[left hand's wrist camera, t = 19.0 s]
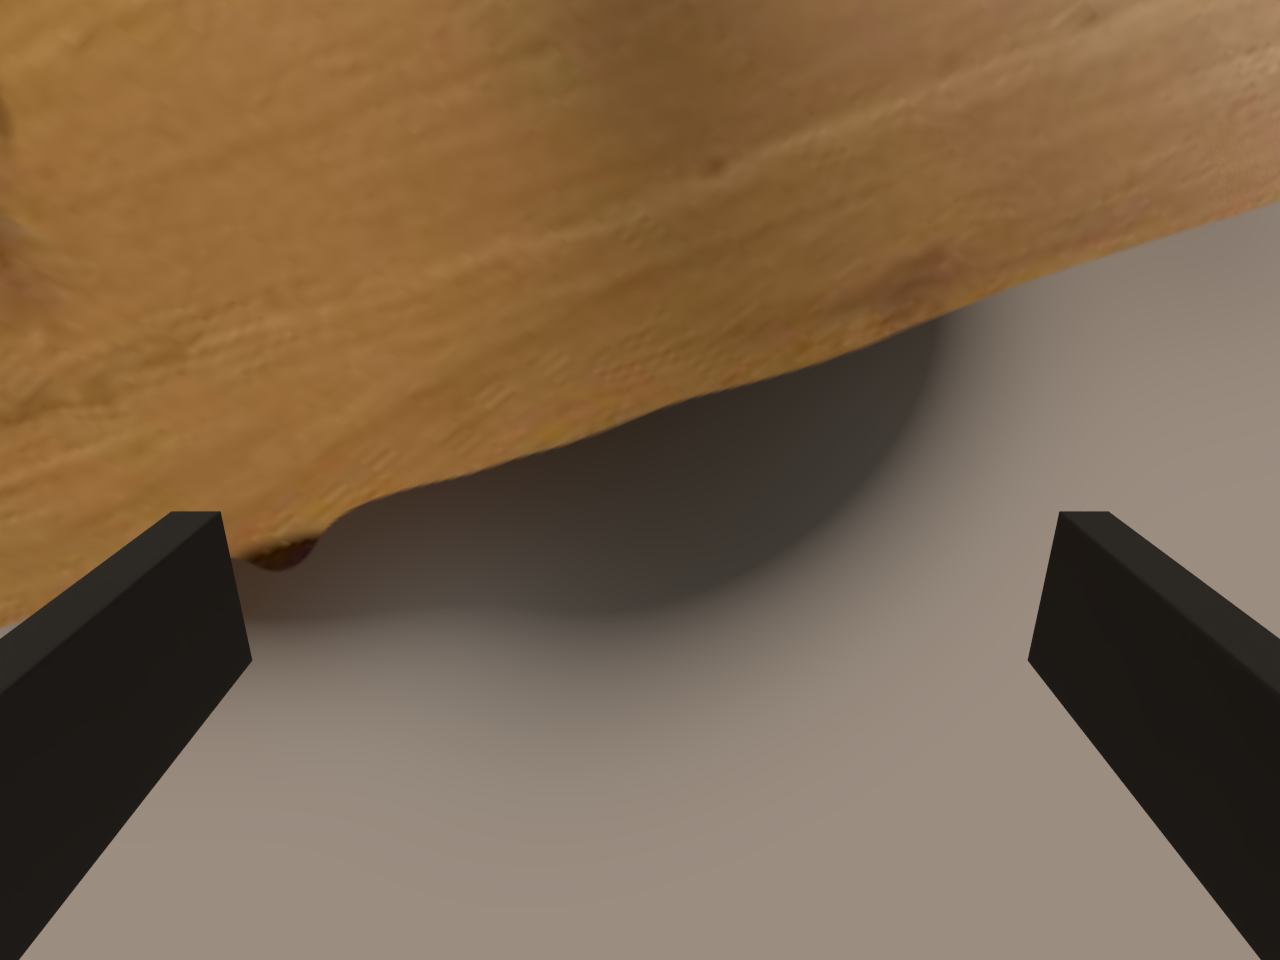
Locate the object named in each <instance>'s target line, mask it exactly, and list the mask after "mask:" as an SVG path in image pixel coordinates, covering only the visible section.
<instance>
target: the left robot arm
mask: <svg viewBox="0 0 1280 960" xmlns="http://www.w3.org/2000/svg"><path fill="white" fill-rule="evenodd" d="M251 661H252V657H251V652H250V648H249V643H248V638H247V634H246V629H245V624H244V619H243V615H242V610H241V605H240V601H239V596H238V591H237V586H236V582H235V577H234V573H233V568H232V563H231V558H230V554H229V549H228V544H227V540H226V535H225V530H224V526H223V521H222V516H221V512H170V513H169V514H168V515H166V516H165V517H164V518H162V519H161V520H159V521H158V522H157V523H155V524H154V525H153V526H151V527H150V528H149V529H147V530H146V531H145V532H143V533H142V534H141V535H139V536H138V537H137V538H135V539H134V540H133V541H131V542H130V543H129V544H127V545H126V546H125V547H123V548H122V549H120V550H119V551H118V552H116V553H115V554H114V555H112V556H111V557H110V558H108V559H107V560H106V561H104V562H103V563H102V564H100V565H99V566H98V567H96V568H95V569H94V570H92V571H91V572H90V573H88V574H87V575H86V576H84V577H83V578H82V579H80V580H79V581H77V582H76V583H75V584H73V585H72V586H71V587H69V588H68V589H67V590H65V591H64V592H63V593H61V594H60V595H59V596H57V597H56V598H55V599H53V600H52V601H51V602H49V603H48V604H47V605H45V606H44V607H43V608H41V609H40V610H39V611H37V612H36V613H34V614H33V615H32V616H30V617H29V618H28V619H26V620H25V621H24V622H22V623H21V624H20V625H18V626H17V627H16V628H14V629H13V630H12V631H10V632H9V633H8V634H6V635H5V636H4V637H2V638H1V639H0V960H19V959H20V958H21V957H22V955H23V954H24V953H25V951H26V950H27V949H28V948H29V946H30V945H31V944H32V942H33V941H34V940H35V939H36V937H37V936H38V935H39V933H40V932H41V931H42V930H43V928H44V927H45V926H46V924H47V923H48V922H49V921H50V919H51V918H52V917H53V915H54V914H55V913H56V912H57V910H58V909H59V908H60V907H61V905H62V904H63V903H64V901H65V900H66V899H67V898H68V896H69V895H70V894H71V892H72V891H73V890H74V889H75V887H76V886H77V885H78V883H79V882H80V881H81V880H82V878H83V877H84V876H85V874H86V873H87V872H88V871H89V869H90V868H91V867H92V865H93V864H94V863H95V862H96V860H97V859H98V858H99V856H100V855H101V854H102V853H103V851H104V850H105V849H106V847H107V846H108V845H109V844H110V842H111V841H112V840H113V839H114V837H115V836H116V835H117V833H118V832H119V831H120V830H121V828H122V827H123V826H124V824H125V823H126V822H127V820H128V819H129V818H130V817H131V815H132V814H133V813H134V812H135V810H136V809H137V808H138V806H139V805H140V804H141V803H142V801H143V800H144V799H145V797H146V796H147V795H148V794H149V792H150V791H151V790H152V788H153V787H154V786H155V785H156V783H157V782H158V781H159V779H160V778H161V777H162V776H163V774H164V773H165V772H166V771H167V769H168V768H169V767H170V765H171V764H172V763H173V762H174V760H175V759H176V758H177V756H178V755H179V754H180V753H181V751H182V750H183V749H184V747H185V746H186V745H187V744H188V742H189V741H190V740H191V738H192V737H193V736H194V735H195V733H196V732H197V731H198V729H199V728H200V727H201V726H202V724H203V723H204V722H205V720H206V719H207V718H208V717H209V715H210V714H211V713H212V711H213V710H214V709H215V708H216V706H217V705H218V704H219V702H220V701H221V700H222V699H223V697H224V696H225V695H226V694H227V692H228V691H229V690H230V688H231V687H232V686H233V684H234V683H235V682H236V681H237V679H238V678H239V677H240V675H241V674H242V673H243V672H244V670H245V669H246V668H247V667H248V665H249V664H250V663H251ZM1028 661H1029V663H1030V664H1031V665H1032V667H1033V668H1034V669H1035V670H1036V672H1037V673H1038V674H1039V676H1040V677H1041V678H1042V679H1043V681H1044V682H1045V683H1046V685H1047V686H1048V687H1049V688H1050V690H1051V691H1052V692H1053V693H1054V695H1055V696H1056V697H1057V699H1058V700H1059V701H1060V703H1061V704H1062V705H1063V706H1064V708H1065V709H1066V710H1067V711H1068V713H1069V714H1070V715H1071V717H1072V718H1073V719H1074V720H1075V722H1076V723H1077V724H1078V726H1079V727H1080V728H1081V729H1082V731H1083V732H1084V733H1085V735H1086V736H1087V737H1088V738H1089V740H1090V741H1091V742H1092V744H1093V745H1094V746H1095V747H1096V749H1097V750H1098V751H1099V752H1100V754H1101V755H1102V756H1103V758H1104V759H1105V760H1106V762H1107V763H1108V764H1109V765H1110V767H1111V768H1112V769H1113V770H1114V772H1115V773H1116V774H1117V776H1118V777H1119V778H1120V779H1121V781H1122V782H1123V783H1124V785H1125V786H1126V787H1127V788H1128V790H1129V791H1130V792H1131V794H1132V795H1133V796H1134V797H1135V799H1136V800H1137V801H1138V803H1139V804H1140V805H1141V806H1142V808H1143V809H1144V810H1145V812H1146V813H1147V814H1148V815H1149V817H1150V818H1151V819H1152V821H1153V822H1154V823H1155V824H1156V826H1157V827H1158V828H1159V830H1160V831H1161V832H1162V833H1163V835H1164V836H1165V837H1166V838H1167V840H1168V841H1169V842H1170V844H1171V845H1172V846H1173V847H1174V849H1175V850H1176V851H1177V853H1178V854H1179V855H1180V856H1181V858H1182V859H1183V860H1184V862H1185V863H1186V864H1187V865H1188V867H1189V868H1190V869H1191V871H1192V872H1193V873H1194V874H1195V876H1196V877H1197V878H1198V880H1199V881H1200V882H1201V883H1202V885H1203V886H1204V887H1205V888H1206V890H1207V891H1208V892H1209V894H1210V895H1211V896H1212V898H1213V899H1214V900H1215V901H1216V903H1217V904H1218V905H1219V907H1220V908H1221V909H1222V910H1223V912H1224V913H1225V914H1226V915H1227V917H1228V918H1229V919H1230V921H1231V922H1232V923H1233V924H1234V926H1235V927H1236V928H1237V930H1238V931H1239V932H1240V933H1241V935H1242V936H1243V937H1244V939H1245V940H1246V941H1247V942H1248V944H1249V945H1250V946H1251V948H1252V949H1253V950H1254V951H1255V953H1256V954H1257V955H1258V957H1259V958H1260V959H1261V960H1280V639H1279V638H1278V637H1276V636H1275V635H1274V634H1272V633H1271V632H1270V631H1268V630H1267V629H1266V628H1264V627H1263V626H1262V625H1260V624H1259V623H1258V622H1256V621H1255V620H1254V619H1252V618H1251V617H1250V616H1248V615H1247V614H1246V613H1244V612H1243V611H1241V610H1240V609H1239V608H1237V607H1236V606H1235V605H1233V604H1232V603H1231V602H1229V601H1228V600H1227V599H1225V598H1224V597H1223V596H1221V595H1220V594H1219V593H1217V592H1216V591H1215V590H1213V589H1212V588H1210V587H1209V586H1208V585H1206V584H1205V583H1204V582H1202V581H1201V580H1200V579H1198V578H1197V577H1196V576H1194V575H1193V574H1192V573H1190V572H1189V571H1188V570H1186V569H1185V568H1184V567H1182V566H1181V565H1180V564H1178V563H1177V562H1176V561H1174V560H1173V559H1172V558H1170V557H1169V556H1168V555H1166V554H1165V553H1163V552H1162V551H1161V550H1160V549H1158V548H1157V547H1155V546H1154V545H1153V544H1151V543H1150V542H1149V541H1147V540H1146V539H1145V538H1143V537H1142V536H1141V535H1139V534H1138V533H1137V532H1135V531H1134V530H1133V529H1131V528H1130V527H1129V526H1127V525H1126V524H1125V523H1123V522H1122V521H1121V520H1119V519H1118V518H1116V517H1115V516H1114V515H1112V514H1111V513H1110V512H1059V516H1058V521H1057V526H1056V530H1055V535H1054V540H1053V544H1052V549H1051V554H1050V558H1049V563H1048V568H1047V573H1046V577H1045V582H1044V587H1043V591H1042V596H1041V601H1040V605H1039V610H1038V615H1037V619H1036V624H1035V629H1034V633H1033V638H1032V643H1031V647H1030V652H1029V657H1028Z"/></svg>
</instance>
